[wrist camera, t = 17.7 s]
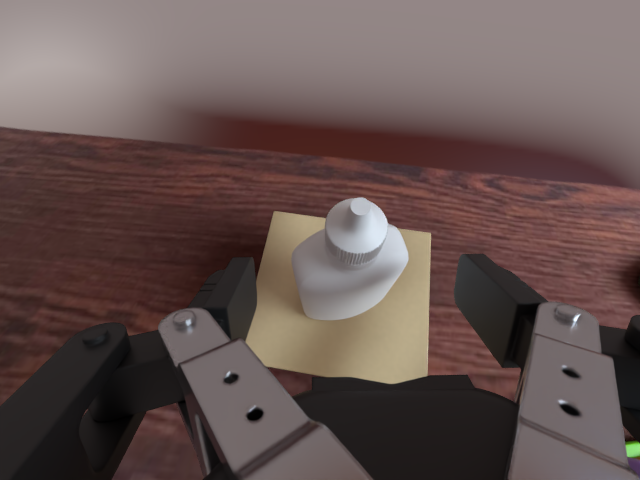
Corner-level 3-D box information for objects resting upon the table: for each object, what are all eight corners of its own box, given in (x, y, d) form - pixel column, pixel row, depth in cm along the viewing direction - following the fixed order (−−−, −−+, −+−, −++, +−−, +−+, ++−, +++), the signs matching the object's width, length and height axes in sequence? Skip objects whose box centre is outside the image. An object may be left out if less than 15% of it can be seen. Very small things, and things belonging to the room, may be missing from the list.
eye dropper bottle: (310, 255, 23) (298, 141, 12) (387, 274, 22) (450, 171, 11) (293, 315, 21) (261, 244, 10) (376, 336, 21) (437, 286, 10)
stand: (254, 365, 26) (235, 360, 20) (283, 242, 30) (273, 210, 24) (403, 391, 25) (427, 395, 19) (410, 261, 29) (431, 232, 24)
